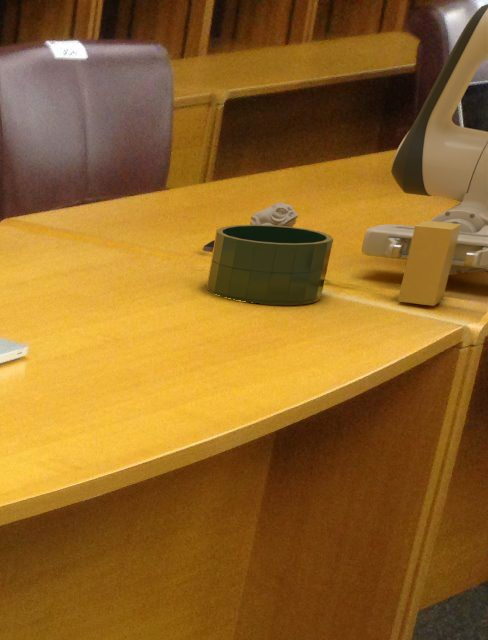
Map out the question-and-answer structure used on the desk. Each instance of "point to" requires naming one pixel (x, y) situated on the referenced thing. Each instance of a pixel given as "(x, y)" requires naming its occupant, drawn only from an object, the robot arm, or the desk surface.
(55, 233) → the desk surface
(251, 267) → the pot
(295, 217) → the frog figurine
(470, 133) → the robot arm
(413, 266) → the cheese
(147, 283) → the desk surface
